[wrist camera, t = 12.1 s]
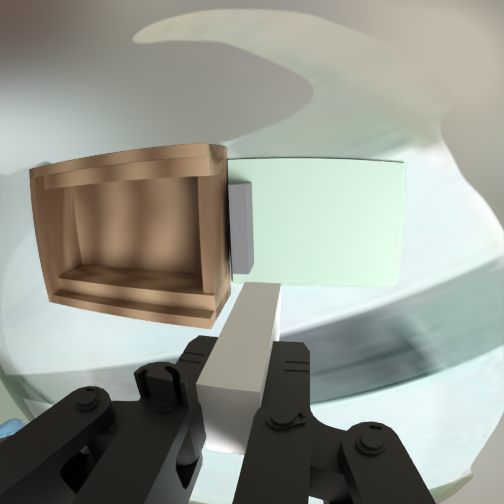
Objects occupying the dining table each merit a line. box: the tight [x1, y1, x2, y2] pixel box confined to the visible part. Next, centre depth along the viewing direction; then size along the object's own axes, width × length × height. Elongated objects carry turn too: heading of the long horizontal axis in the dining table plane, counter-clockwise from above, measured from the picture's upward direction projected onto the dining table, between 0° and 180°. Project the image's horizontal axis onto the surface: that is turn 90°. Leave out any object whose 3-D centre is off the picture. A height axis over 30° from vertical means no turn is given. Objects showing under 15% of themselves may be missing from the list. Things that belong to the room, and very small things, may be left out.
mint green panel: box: [228, 158, 406, 287], centre depth 27 cm, size 17×12×4 cm
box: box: [29, 143, 231, 329], centre depth 28 cm, size 20×15×7 cm
